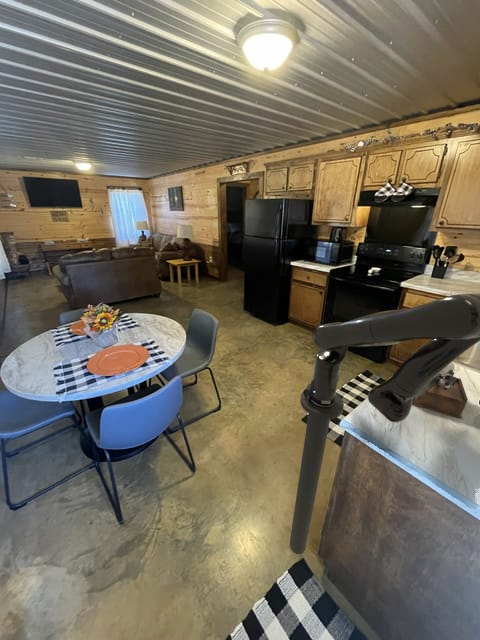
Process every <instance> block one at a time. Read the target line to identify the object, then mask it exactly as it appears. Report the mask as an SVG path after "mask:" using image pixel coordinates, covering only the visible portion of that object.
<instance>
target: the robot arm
mask: <svg viewBox="0 0 480 640" xmlns="http://www.w3.org/2000/svg"><path fill="white" fill-rule="evenodd" d="M312 336H313V337H312V338H313V342H314V344H315V345H316V347H318V348H319V349H320V351H319V352H318V353H317V354H316V355H315V361H314V362H315V363H314V367H313V368H314V369H313V376H312V379H311V381H310V382H308V384H307V386H306V387H305V388H304V390H303V391H304V395H305V397H307V396H309V401H311V402H312V403H313V404H314V405H316V406H318V407H321V408H330V407H332V406H333V405H334V402H335V396H336V393H337V391H338V385H339V379H340V375H341V370H342V369H341V368H342V364H343V362H344V361H345V359H346V357H347V352H348V348H349V347H380V346H382V347H383V346H390V345H397V344H402V343H405V342H408V341H413V340H430V341H429V342H428V343H427V344H425V345H424V346H423V347H421V348H420V349H418V350H417V351H416V352H414V353H413V354H411V355H410V356H409V357H408V358H406V359H405V360H404V361H403V362H402V363H401V365H400V366H399V367H398V368H397V369H396V370H395V372H394V373H393V374H392V375H391V376H390V377H389V378H388V379H387V380H385V381H384V382H381V383H380V384H378V385H376V386H374V387H372V388H371V389H370V390H369V392H368V394H367V400H368V402H369V403H370V405H371V406H373V407H374V408H375V410H377V411H378V413H380V414H381V415H382V416H383V418H385V419H386V420H388V422H391V423H394V424H395V423H397V424H398V423H401V422H403V421H405V420H406V419H407V417H408V416H409V414H410V412H411V409H412V406H413V404H412V403H413V402H414V401H415V400H416V399H417V398H418V397H420V396H422V395H423V394H425V393H427V391H428V390H429V389H431V388H432V387H433V386H434V385H438V384H439V385H441V386H443V389H444V390H448V389H449V388H451V387H452V386H454V385H455V382H456V380H457V378H458V377H456V376H454V375H455V372H454V371H453V370H450V371H448V372H447V373H442V372H441V371H442V370H443V369H444V368H446V367H447V366H448V365H449V364H450V363H451V362H454V361H455V360H456V359H457V358H459V357H460V356H461V355H462V354H464V353H465V352H467V351H468V350H469V349H470V348H472V347H473V346H475V345H476V344H478V343H479V342H480V293H476V292H475V293H474V292H473V293H458V294H457V293H456V294H451V295H447V296H444V297H441V298H438V299H436V300H433V301H430V302H426V303H423V304H420V305H417V306H414V307H410V308H404V309H390V310H384V311H378V312H374V313H370V314H366V315H363V316H359V317H355V318H353V319H350V320H347V321H343V322H342V321H336V322H330V323H323V324H321V325H319V326H318V327H316V328H315V330H314V331H313V334H312ZM438 375H439V376H438ZM444 377H445V378H444Z"/></svg>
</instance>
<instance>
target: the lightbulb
mask: <svg viewBox="0 0 480 640" xmlns="http://www.w3.org/2000/svg"><path fill="white" fill-rule="evenodd" d="M450 370H453V372H454V371H455V364H454V361H452V362H451V363H450V364H449V365H448V366H447V367H446V368H444V369H443V370H442V371H441V372H442V373H447V372H448V371H450ZM438 376H439V375H438ZM444 378H445V377H444ZM438 385H439V384H438Z"/></svg>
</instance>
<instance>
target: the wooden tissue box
mask: <svg viewBox="0 0 480 640" xmlns="http://www.w3.org/2000/svg"><path fill="white" fill-rule="evenodd" d="M456 378H457V380H456V382H455V385H454V386H452V387H451V388H449V389H448V390H444V389H443V386H441V385H434V386H433V387H432V388H431V389H429V390H428V391H427V393H425V394H423V395H422V396H420V397H418V398H417V399H416V400H415V401H414V402H413V403H412V405H416V406H419V407H423V408H424V409H425V408H426V409H429V410H432V411H436V412H439V413H441V414H446V415H449V416H453V417H456V418H458V419H460V418H461V416H462V414H463V412H464V410H465V408H466V406H467V403H468V401H469V399H468V396H467V392H466V390H465V388H464V387H465V386H464V384H463V382H462V381H463V380H462V378H459V377H456Z"/></svg>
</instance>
